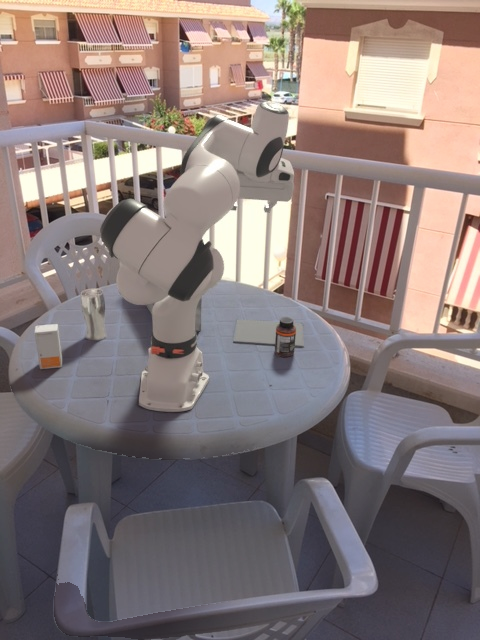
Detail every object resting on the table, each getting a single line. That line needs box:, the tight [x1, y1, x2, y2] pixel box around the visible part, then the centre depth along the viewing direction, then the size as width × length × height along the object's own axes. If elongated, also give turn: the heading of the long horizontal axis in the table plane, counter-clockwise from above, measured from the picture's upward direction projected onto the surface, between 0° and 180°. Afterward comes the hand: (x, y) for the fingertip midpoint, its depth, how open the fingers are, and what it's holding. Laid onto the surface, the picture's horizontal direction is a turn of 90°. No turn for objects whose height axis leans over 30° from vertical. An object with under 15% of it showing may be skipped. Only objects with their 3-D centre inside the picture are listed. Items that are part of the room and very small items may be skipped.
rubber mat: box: [232, 318, 305, 348], centre depth 168 cm, size 15×22×1 cm
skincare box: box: [34, 323, 63, 370], centre depth 145 cm, size 6×4×12 cm
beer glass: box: [80, 287, 107, 342], centre depth 159 cm, size 7×7×15 cm
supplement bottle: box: [274, 316, 296, 358], centre depth 155 cm, size 6×6×11 cm
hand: (250, 210), depth 141 cm, fingers open, 8 cm apart
